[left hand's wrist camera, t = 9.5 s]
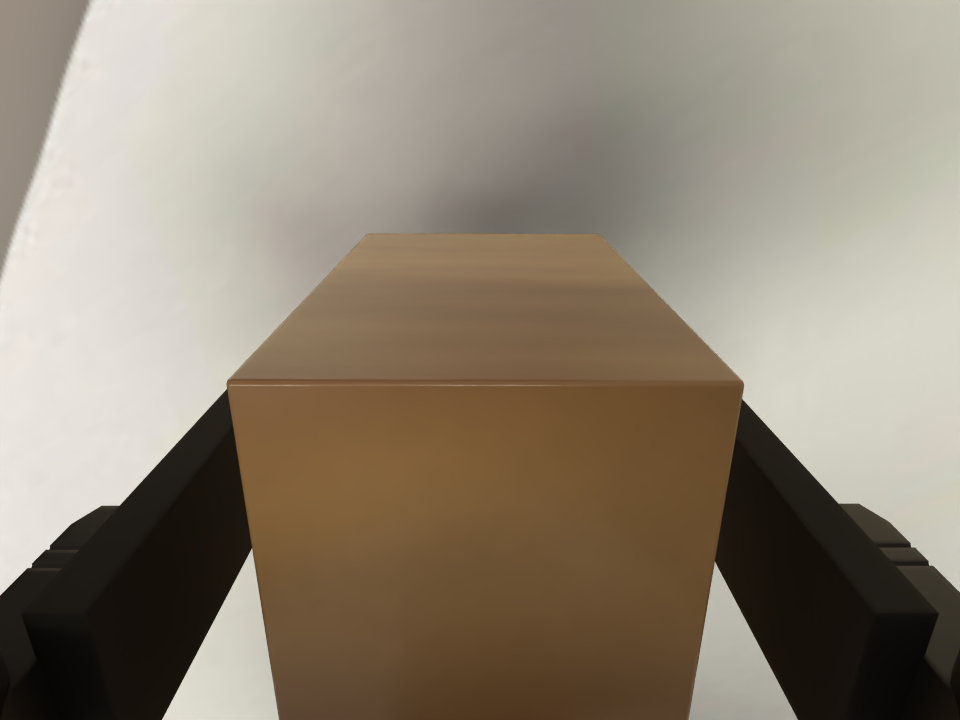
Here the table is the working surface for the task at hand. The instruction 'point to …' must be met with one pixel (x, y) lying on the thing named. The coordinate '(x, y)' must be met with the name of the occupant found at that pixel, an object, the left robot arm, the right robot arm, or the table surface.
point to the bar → (484, 485)
